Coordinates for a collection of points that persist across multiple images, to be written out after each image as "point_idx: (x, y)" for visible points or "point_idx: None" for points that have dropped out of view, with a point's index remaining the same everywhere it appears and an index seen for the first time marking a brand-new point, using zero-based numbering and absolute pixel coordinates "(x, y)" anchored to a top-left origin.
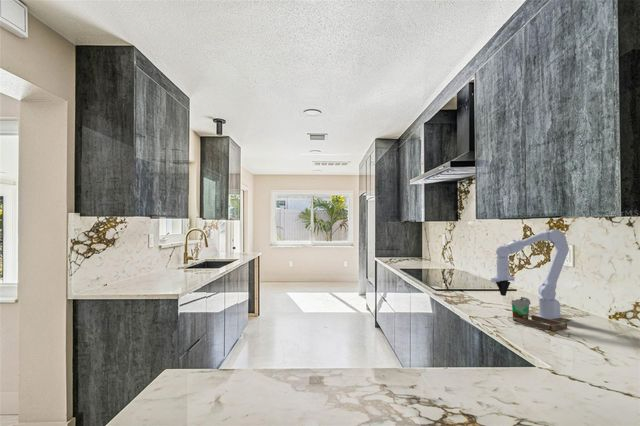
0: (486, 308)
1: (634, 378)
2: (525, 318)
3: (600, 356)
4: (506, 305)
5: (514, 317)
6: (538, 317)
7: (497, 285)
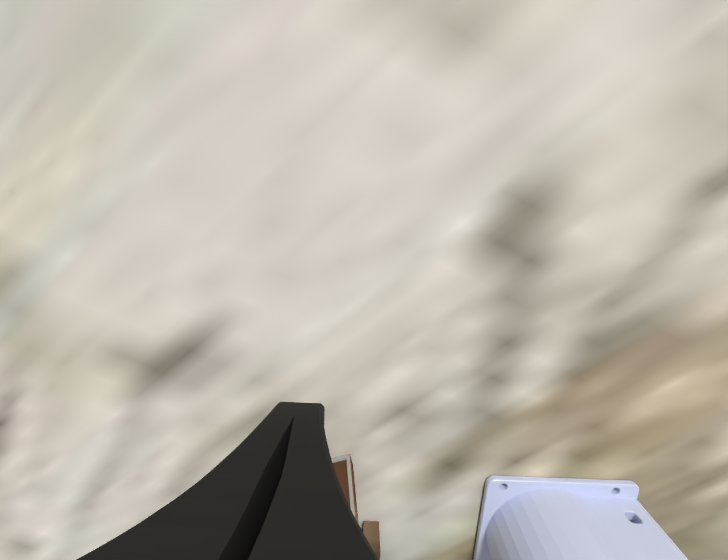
0: (366, 63)
1: None
2: None
3: None
4: (718, 59)
5: None
6: None
7: (123, 539)
